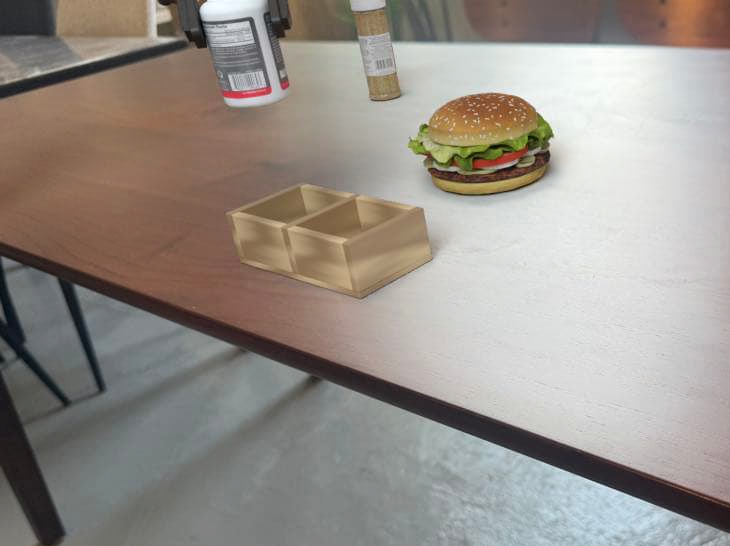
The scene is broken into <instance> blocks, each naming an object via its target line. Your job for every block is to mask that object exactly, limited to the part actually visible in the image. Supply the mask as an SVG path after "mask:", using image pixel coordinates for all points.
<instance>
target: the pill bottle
mask: <svg viewBox="0 0 730 546" xmlns="http://www.w3.org/2000/svg"><path fill="white" fill-rule="evenodd" d="M199 14H200V19H201V22H202V26H203V29H204V32H205V36H206V41H207V47H208V49H209V53H210V57H211V60H212V63H213V64H212V65H213V67H214V71H215V73H216V77H217V80H218V84H219V87H220V90H221V93H222V97H223V100H224V103H225V104H226V105H227V106H228V107H230V108H235V109H236V108H237V109H238V108H239V109H241V108H243V109H244V108H246V109H247V108H256V107H262V106H263V107H264V106H267V105H268V106H269V105H272V104H276V103H278V102H280V101H283V100H285V99H286V98H288V97H289V96H290V95H291V93H292V90H291V89H292V88H291V85H290V80H289V76H288V72H287V68H286V64H285V60H284V59H285V58H284V56H283V52H282V48H281V43H280V41H279V38H278V39H277V38H276V35H275V31H274V28H273V25H272V21H271V16H270V10H269V5H268V0H206V1H205V2H204V3H202V5H200V12H199Z"/></svg>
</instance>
